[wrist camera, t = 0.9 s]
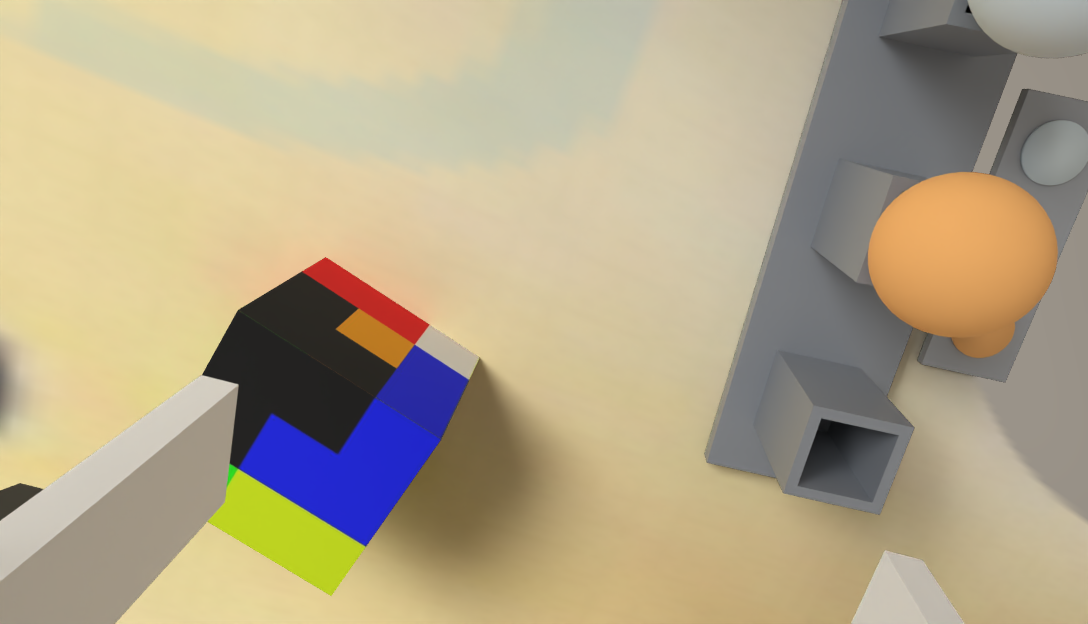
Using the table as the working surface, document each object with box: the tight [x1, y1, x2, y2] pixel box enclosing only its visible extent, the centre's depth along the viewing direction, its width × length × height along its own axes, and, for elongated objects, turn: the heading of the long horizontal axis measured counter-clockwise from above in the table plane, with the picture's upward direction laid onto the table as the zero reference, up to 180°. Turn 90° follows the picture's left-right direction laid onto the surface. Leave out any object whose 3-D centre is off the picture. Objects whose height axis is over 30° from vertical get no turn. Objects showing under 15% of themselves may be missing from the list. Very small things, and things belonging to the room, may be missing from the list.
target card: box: [917, 89, 1088, 382], centre depth 36 cm, size 14×4×1 cm, turn 169°
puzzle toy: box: [202, 257, 480, 596], centre depth 37 cm, size 10×10×10 cm
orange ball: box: [868, 172, 1058, 338], centre depth 27 cm, size 6×6×6 cm
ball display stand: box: [705, 0, 1017, 515], centre depth 33 cm, size 30×8×8 cm, turn 169°
